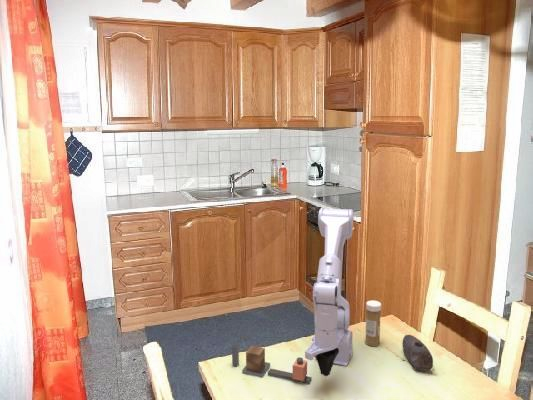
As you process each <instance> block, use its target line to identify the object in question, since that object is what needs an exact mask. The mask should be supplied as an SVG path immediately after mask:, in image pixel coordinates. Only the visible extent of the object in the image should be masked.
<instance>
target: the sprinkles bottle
mask: <svg viewBox="0 0 533 400" xmlns="http://www.w3.org/2000/svg"><path fill="white" fill-rule="evenodd" d="M365 309H366V310H365V311H366V313H365V314H366V316H365V340H364V342H365V344H366V345H367V346H370V347H377V346H379V345H380V343H381V340H380V337H381V336H380V335H381V312H382V303H381V302H380V301H377V300H368V301H367V302H366V303H365Z"/></svg>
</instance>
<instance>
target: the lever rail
mask: <svg viewBox="0 0 533 400" xmlns="http://www.w3.org/2000/svg"><path fill="white" fill-rule="evenodd" d="M267 376H269V377H274V378H277V379H281V380H287V381H292V382H295V383H296V382H297V383H300V384H306V385H310V384H311V382H312V381H313V380H312V379H313V378H312V376H308V375H306V377H305V379H304V381H300V380H295V379H293V372H290V371H284V370H279V369H275V368H271V367H269V369H268V370H267Z"/></svg>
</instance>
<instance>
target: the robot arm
mask: <svg viewBox="0 0 533 400" xmlns="http://www.w3.org/2000/svg"><path fill="white" fill-rule="evenodd" d="M318 210H319V211H318V217H317V219H318V220H317V225H318V229H319V233H320V235H321V237H323V238H324V255H323V256H322V257H320V258H319V261H318V269H317V276H316V282H314V284H313V289H312V300H313V311H314V318H313V319H314V321H313V323H314V336H313V337H312V338H311V341H312V343H311V344H310V346H309V347H308V348H307V349H306V350H305V351H304V358H305V359H307V361H310V362H312V361H313V360H315V361H316V362H317V365H318V367H319V373H320V375H321V376H324V377H329V376H330V375H331V372H332V369H333V365H334V364H335V365H341V366H345V367H346V366H348V365H349V363H350V360H351V358H352V355H353V331H352V330H349V328H350V318H351V314H350V313H351V310H350V303H349V301H348V300H347V299H346V298H345V297H343V296H342V280H343V278H342V277H343V276H342V275H343V263H344V262H343V257H344V245H345V243H346V240H348V239H351V238H352V235H353V233H354V232H353V229H354V215H355V214H354V210H353V209H352V208H351V209H350V208H349V209H347V208H346V209H345V208H342V209H341V208H323V207H321V208H320V209H318Z"/></svg>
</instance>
